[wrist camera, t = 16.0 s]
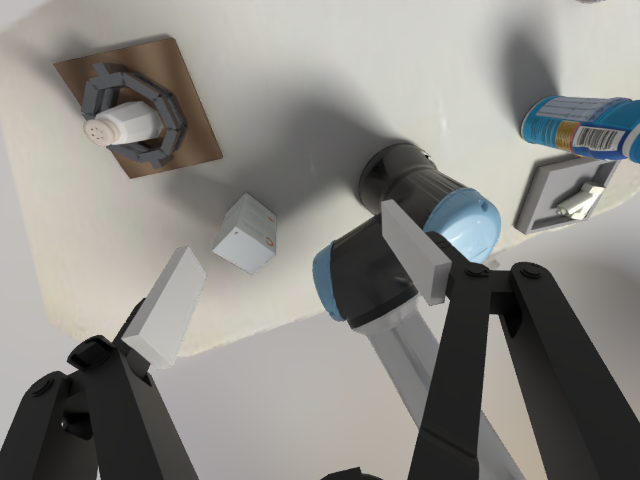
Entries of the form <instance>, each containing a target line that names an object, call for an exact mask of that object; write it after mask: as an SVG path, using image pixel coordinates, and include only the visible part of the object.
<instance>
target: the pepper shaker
mask: <svg viewBox="0 0 640 480" xmlns="http://www.w3.org/2000/svg"><path fill="white" fill-rule="evenodd" d="M83 127H84V132H85V134H86V136H87V137H88V138H89V139H90V140H91V141H92V142H94V143H95V144H98V145H100V146H108V145H110V144H112V145H117V144H126V143H132V142H137V141H143V140H148V139H153V138H158V136H159V134H160V132H161V130H162V128H163V125H162V122H161V120H160V117H159V115H158V112H157V111H156V110H154V109H153V108H152V107H150V106H149V105H147V104H146V103H144V102H143V101H135V102H126V103H124V104H121V105H119V106H116V107H114V108H111V109H108V110H106V111H103V112H101V113H99V114H97V115H96V117H95V119H92V120H88V121H86V122H85V123H84V126H83Z"/></svg>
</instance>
